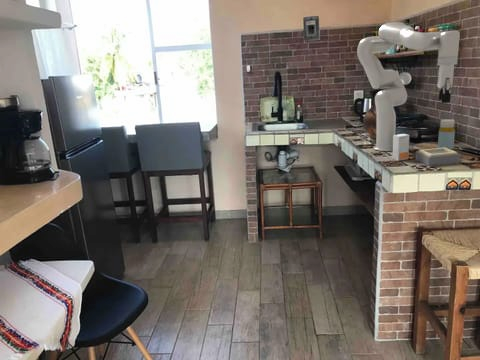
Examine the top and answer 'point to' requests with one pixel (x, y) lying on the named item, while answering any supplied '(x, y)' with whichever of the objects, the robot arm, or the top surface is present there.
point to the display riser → (437, 156)
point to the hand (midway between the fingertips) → (444, 101)
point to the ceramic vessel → (371, 116)
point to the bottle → (446, 134)
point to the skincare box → (400, 147)
